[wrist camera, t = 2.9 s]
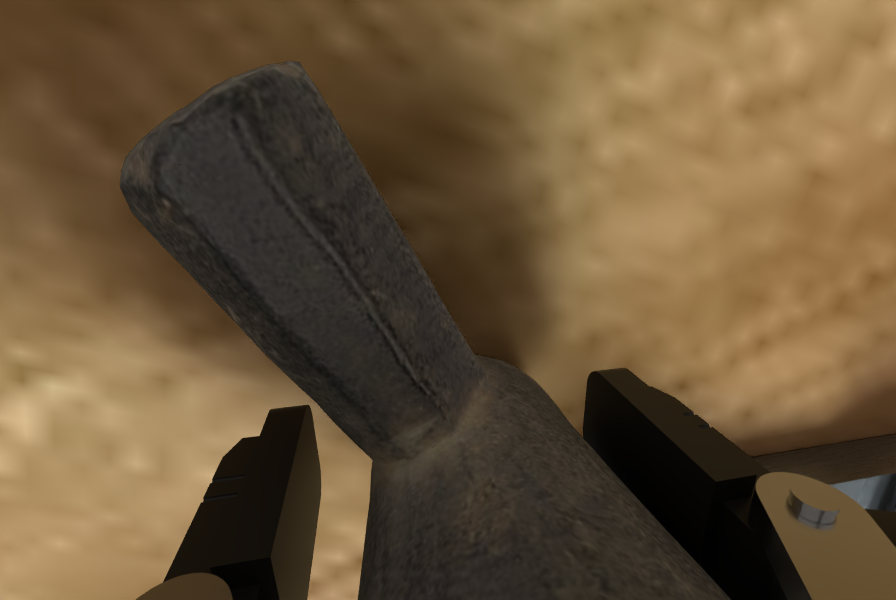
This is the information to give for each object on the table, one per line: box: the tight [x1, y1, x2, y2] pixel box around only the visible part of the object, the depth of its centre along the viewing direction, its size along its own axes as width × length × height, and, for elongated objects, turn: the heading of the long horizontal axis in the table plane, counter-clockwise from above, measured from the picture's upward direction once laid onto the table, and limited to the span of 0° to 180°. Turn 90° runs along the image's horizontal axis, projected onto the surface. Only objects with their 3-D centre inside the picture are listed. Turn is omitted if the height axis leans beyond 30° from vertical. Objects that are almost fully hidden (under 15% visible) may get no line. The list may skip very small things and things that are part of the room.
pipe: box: [120, 61, 731, 600], centre depth 7 cm, size 6×13×8 cm, turn 31°
